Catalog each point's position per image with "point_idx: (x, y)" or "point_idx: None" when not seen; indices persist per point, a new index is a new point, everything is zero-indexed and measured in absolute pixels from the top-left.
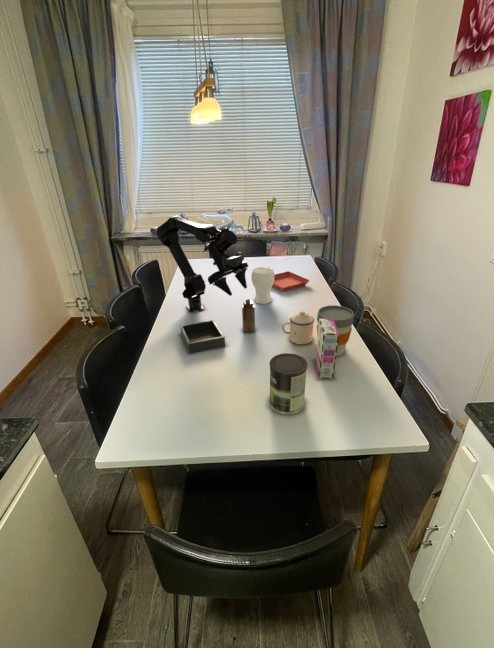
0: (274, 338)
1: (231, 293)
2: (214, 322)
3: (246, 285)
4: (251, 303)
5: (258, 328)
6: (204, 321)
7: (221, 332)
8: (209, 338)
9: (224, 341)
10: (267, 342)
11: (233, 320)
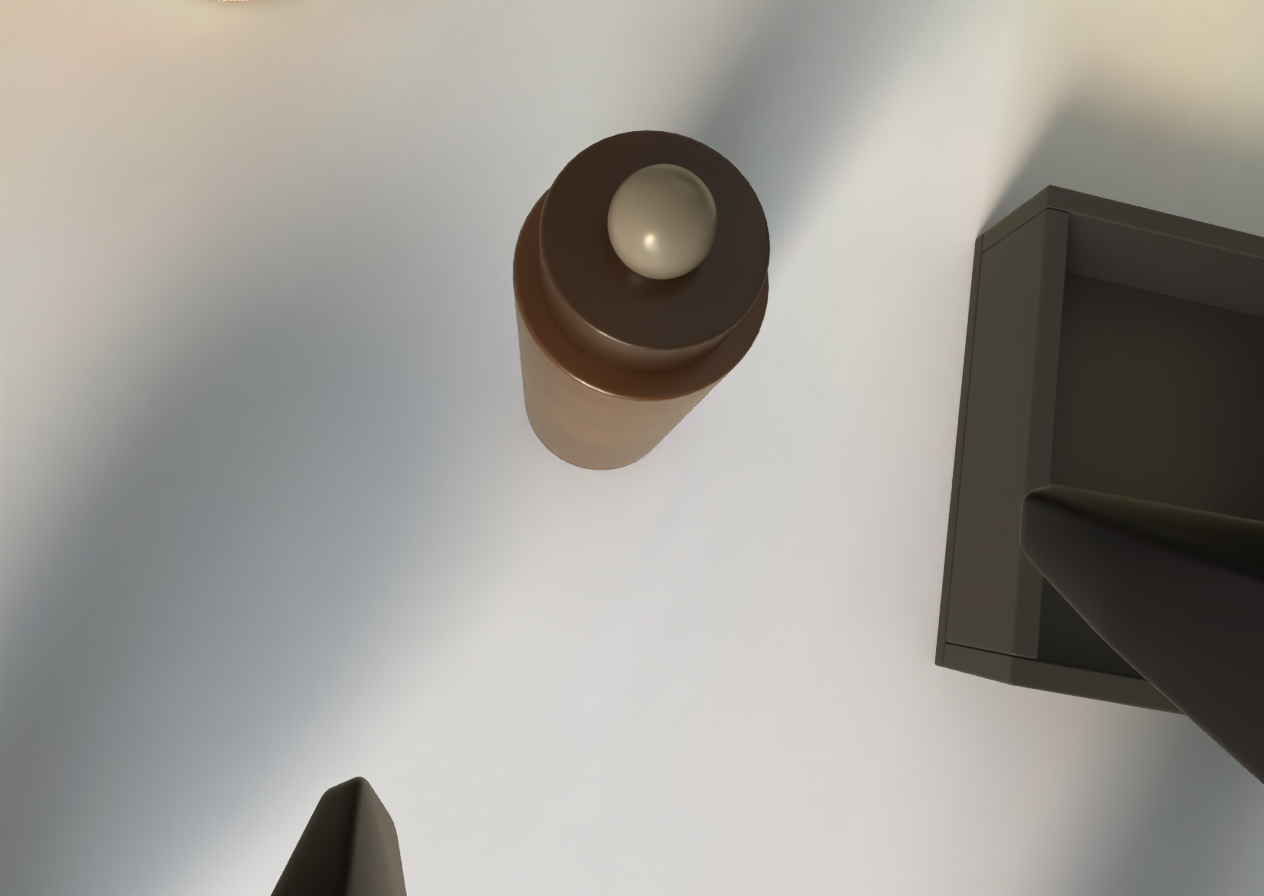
0: (466, 76)
1: (1067, 497)
2: (1029, 592)
3: (309, 843)
4: (626, 145)
5: (481, 366)
6: (1134, 699)
7: (1043, 295)
8: (1075, 444)
9: (1015, 214)
10: (579, 56)
11: (635, 746)
